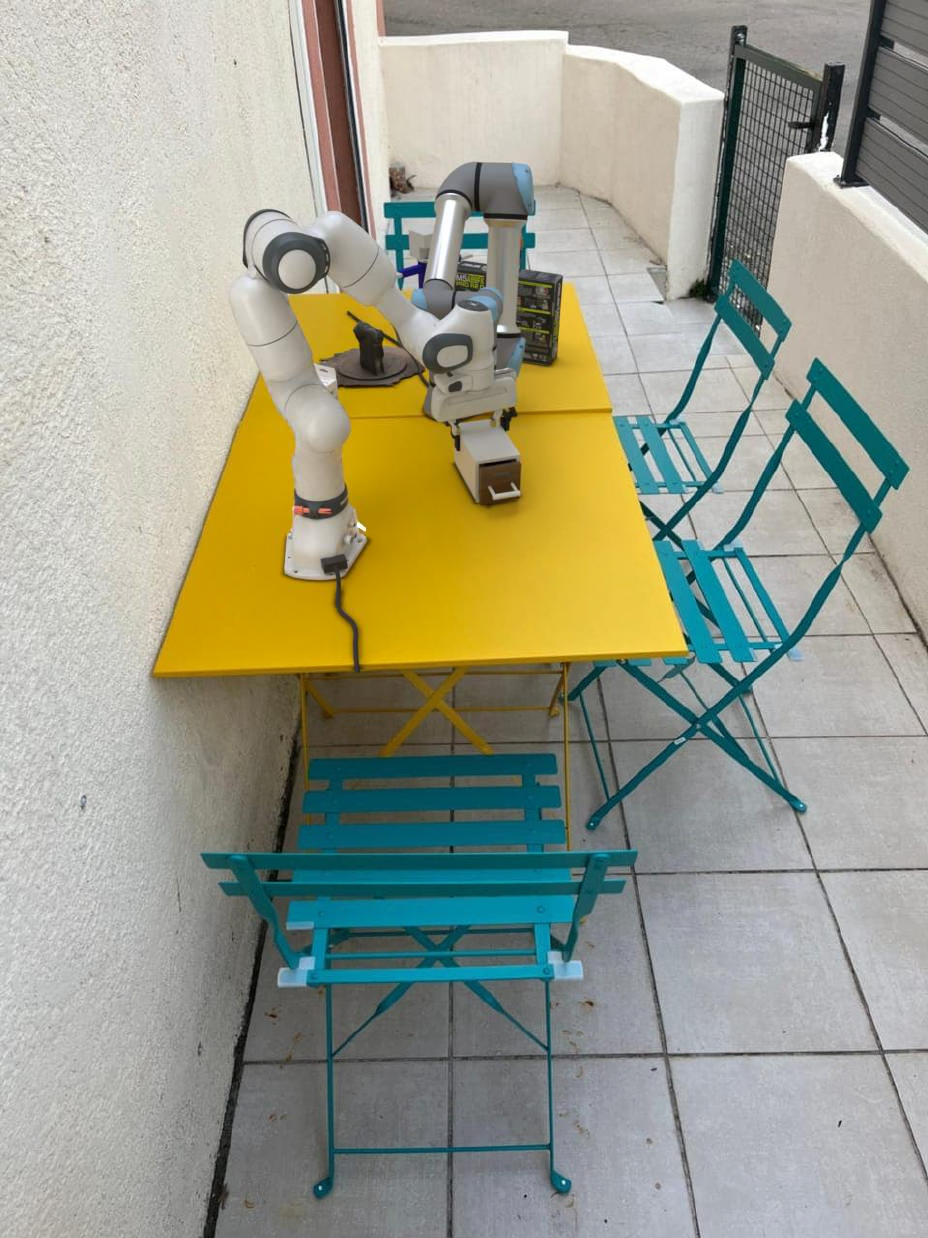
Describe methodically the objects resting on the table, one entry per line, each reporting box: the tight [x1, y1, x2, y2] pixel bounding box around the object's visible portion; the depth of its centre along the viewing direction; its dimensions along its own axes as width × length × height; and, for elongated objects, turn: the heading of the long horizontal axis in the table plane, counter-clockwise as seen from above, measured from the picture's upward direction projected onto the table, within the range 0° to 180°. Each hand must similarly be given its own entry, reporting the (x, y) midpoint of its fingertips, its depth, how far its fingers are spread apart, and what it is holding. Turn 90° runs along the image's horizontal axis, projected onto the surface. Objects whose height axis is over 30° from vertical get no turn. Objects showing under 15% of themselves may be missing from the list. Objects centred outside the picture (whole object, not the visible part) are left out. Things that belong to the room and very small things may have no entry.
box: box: [454, 260, 564, 367], centre depth 277 cm, size 34×7×27 cm, turn 68°
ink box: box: [314, 363, 340, 402], centre depth 249 cm, size 9×5×15 cm, turn 62°
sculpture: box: [316, 320, 426, 387], centre depth 273 cm, size 33×35×16 cm
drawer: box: [478, 459, 522, 506], centre depth 219 cm, size 24×10×10 cm, turn 16°
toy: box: [396, 223, 474, 289], centre depth 298 cm, size 35×10×30 cm, turn 130°
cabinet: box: [453, 418, 521, 504], centre depth 223 cm, size 20×11×12 cm, turn 16°
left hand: (475, 429), depth 206 cm, fingers open, 8 cm apart
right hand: (480, 445), depth 226 cm, fingers closed on cabinet, 11 cm apart
